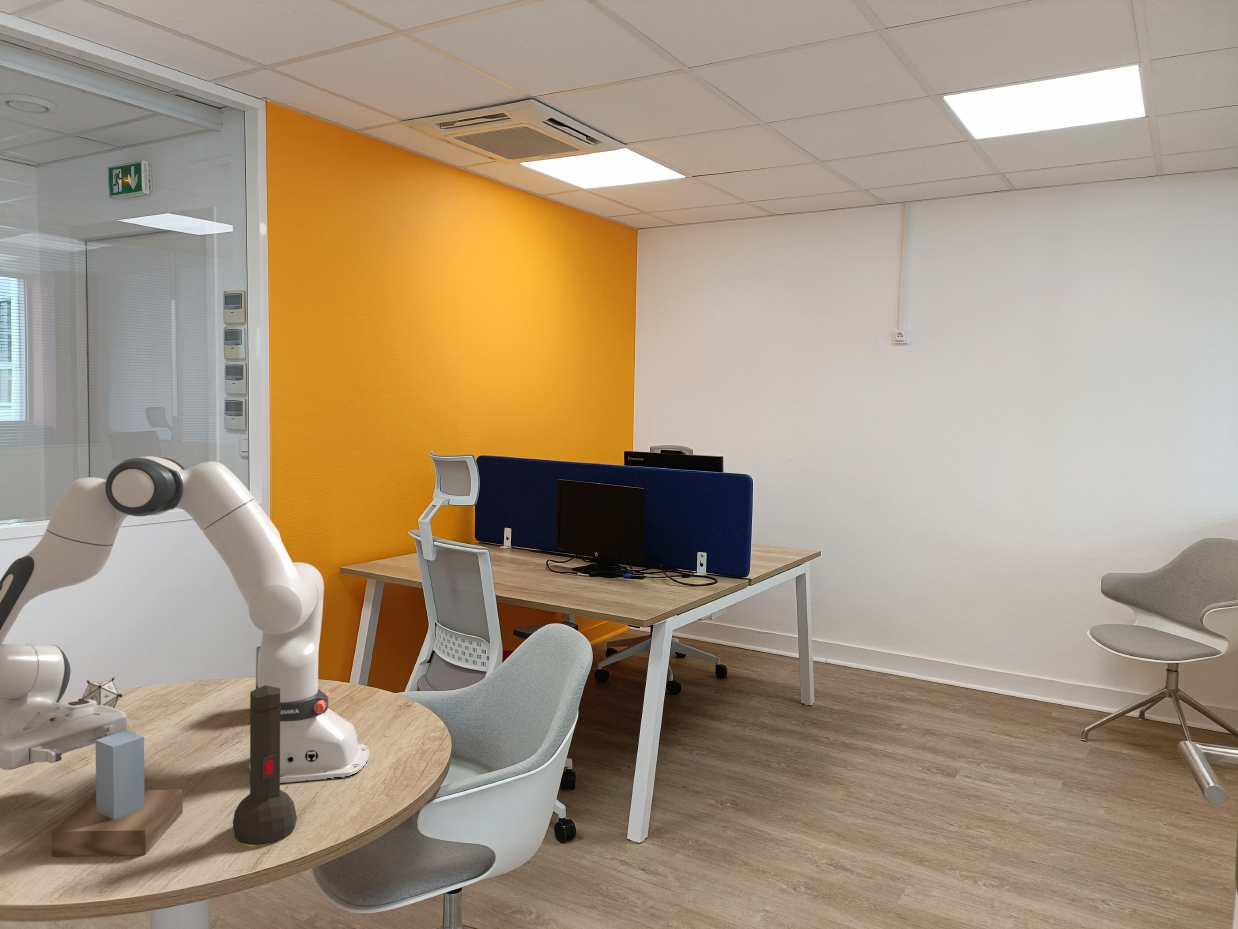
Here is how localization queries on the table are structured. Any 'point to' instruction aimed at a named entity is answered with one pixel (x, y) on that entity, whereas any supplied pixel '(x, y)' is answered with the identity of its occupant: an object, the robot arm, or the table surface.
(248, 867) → the table surface
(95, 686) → the game die
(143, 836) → the block
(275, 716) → the flashlight
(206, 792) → the table surface
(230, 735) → the table surface
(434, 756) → the table surface
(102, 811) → the slate block
